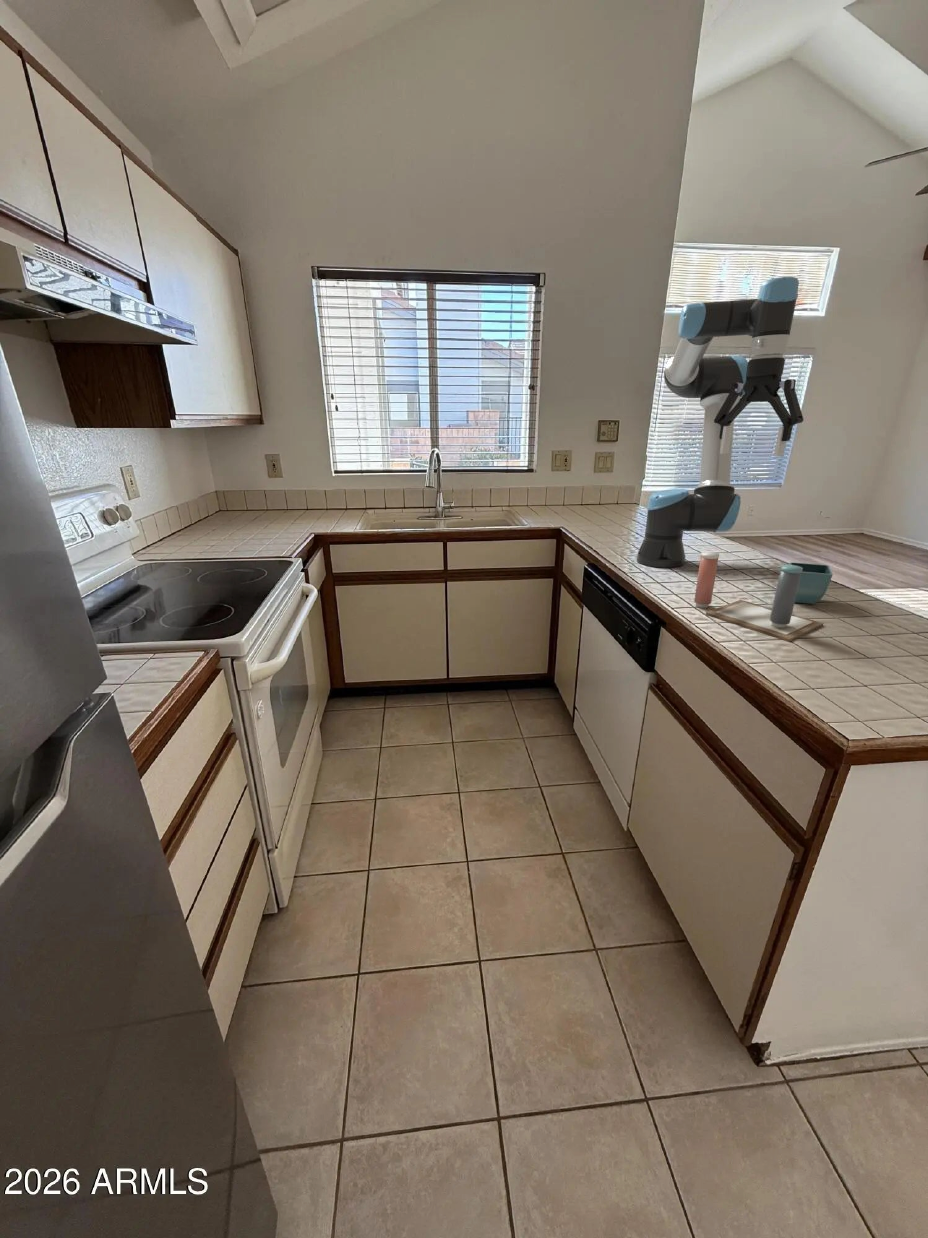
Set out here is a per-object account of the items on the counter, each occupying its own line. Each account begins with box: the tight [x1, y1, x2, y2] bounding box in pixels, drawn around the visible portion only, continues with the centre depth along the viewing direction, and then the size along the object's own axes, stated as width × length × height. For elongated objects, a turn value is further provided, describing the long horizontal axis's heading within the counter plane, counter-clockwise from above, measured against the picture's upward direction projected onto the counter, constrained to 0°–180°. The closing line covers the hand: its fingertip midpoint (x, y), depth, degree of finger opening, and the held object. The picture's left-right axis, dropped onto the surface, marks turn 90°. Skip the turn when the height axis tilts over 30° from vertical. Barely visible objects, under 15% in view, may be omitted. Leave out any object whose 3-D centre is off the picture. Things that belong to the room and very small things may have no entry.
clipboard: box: [705, 599, 824, 642], centre depth 123 cm, size 20×15×1 cm
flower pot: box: [788, 561, 833, 605], centre depth 133 cm, size 9×9×9 cm
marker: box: [770, 564, 803, 628], centre depth 115 cm, size 4×4×14 cm
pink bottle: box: [694, 551, 720, 609], centre depth 130 cm, size 4×4×14 cm
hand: (750, 454), depth 126 cm, fingers open, 13 cm apart
